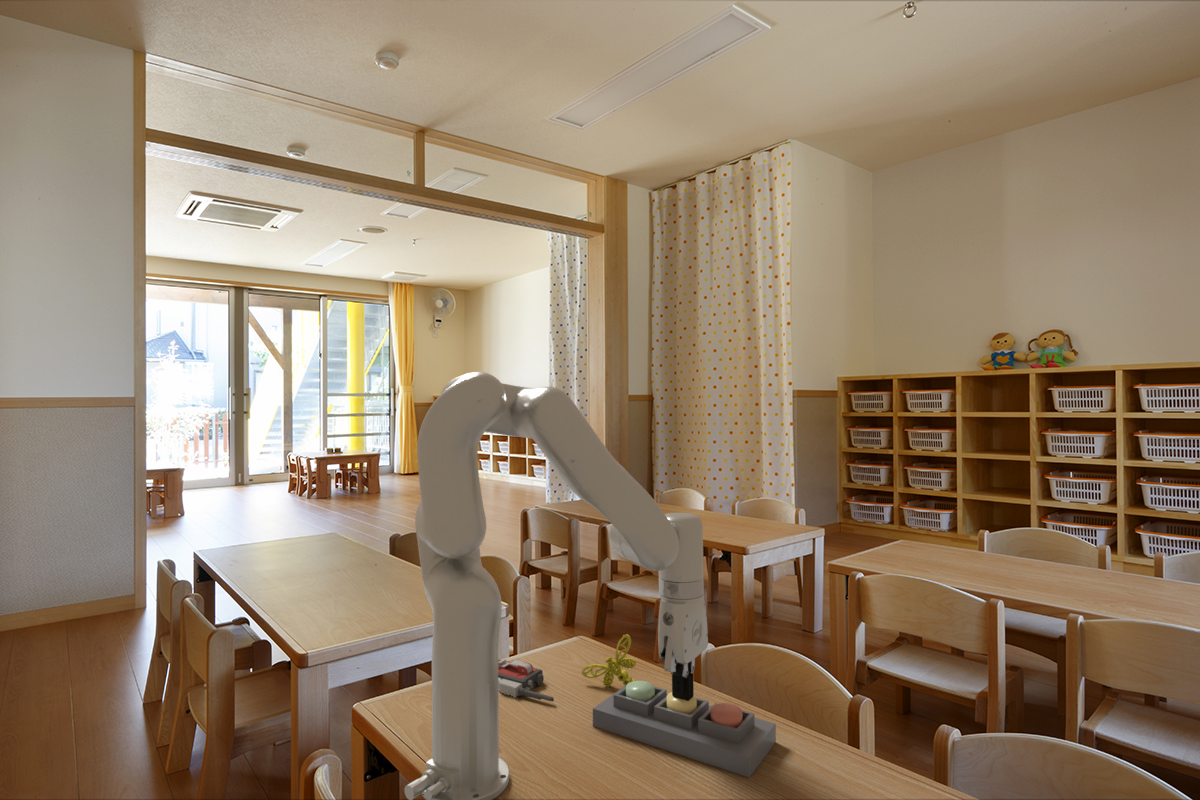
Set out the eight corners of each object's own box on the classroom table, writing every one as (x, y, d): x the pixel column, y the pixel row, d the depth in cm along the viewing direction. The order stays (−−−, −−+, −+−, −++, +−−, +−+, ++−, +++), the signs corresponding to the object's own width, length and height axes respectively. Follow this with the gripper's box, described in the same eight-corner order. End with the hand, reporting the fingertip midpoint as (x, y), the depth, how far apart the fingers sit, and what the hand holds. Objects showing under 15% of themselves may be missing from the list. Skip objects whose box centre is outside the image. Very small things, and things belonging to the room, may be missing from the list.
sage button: (645, 710, 107) (645, 695, 107) (620, 703, 110) (620, 688, 110) (659, 699, 111) (659, 685, 111) (635, 692, 114) (635, 678, 114)
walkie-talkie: (467, 686, 126) (550, 709, 116) (467, 664, 126) (549, 685, 116) (495, 670, 134) (575, 691, 123) (495, 649, 134) (575, 668, 123)
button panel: (749, 777, 93) (749, 743, 93) (592, 726, 109) (592, 696, 109) (775, 742, 103) (775, 711, 103) (628, 699, 119) (628, 672, 119)
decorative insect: (611, 715, 123) (578, 672, 126) (616, 708, 126) (584, 666, 129) (659, 677, 120) (625, 634, 123) (663, 671, 123) (630, 628, 126)
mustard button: (688, 722, 103) (688, 707, 103) (661, 714, 106) (661, 699, 106) (701, 710, 107) (701, 695, 107) (675, 702, 110) (675, 688, 110)
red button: (735, 737, 98) (735, 720, 98) (705, 728, 101) (705, 712, 101) (747, 723, 102) (747, 708, 102) (718, 715, 105) (718, 700, 105)
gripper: (681, 602, 98) (683, 721, 98) (719, 580, 111) (721, 685, 110) (639, 595, 102) (641, 709, 102) (681, 574, 115) (682, 676, 115)
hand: (682, 697), depth 106 cm, fingers closed
